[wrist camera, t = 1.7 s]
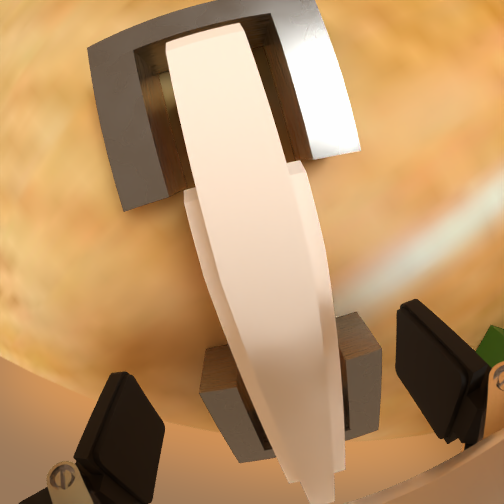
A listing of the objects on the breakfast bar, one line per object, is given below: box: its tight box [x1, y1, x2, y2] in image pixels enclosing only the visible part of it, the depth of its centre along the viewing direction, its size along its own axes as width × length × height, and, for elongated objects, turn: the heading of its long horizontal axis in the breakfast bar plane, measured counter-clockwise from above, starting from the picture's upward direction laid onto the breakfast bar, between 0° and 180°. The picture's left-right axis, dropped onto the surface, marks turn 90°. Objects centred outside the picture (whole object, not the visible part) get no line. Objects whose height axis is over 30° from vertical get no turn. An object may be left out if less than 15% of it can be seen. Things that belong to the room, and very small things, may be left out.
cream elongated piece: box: [166, 23, 345, 504], centre depth 17 cm, size 6×25×13 cm, turn 14°
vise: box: [87, 0, 382, 463], centre depth 18 cm, size 12×31×5 cm, turn 14°
